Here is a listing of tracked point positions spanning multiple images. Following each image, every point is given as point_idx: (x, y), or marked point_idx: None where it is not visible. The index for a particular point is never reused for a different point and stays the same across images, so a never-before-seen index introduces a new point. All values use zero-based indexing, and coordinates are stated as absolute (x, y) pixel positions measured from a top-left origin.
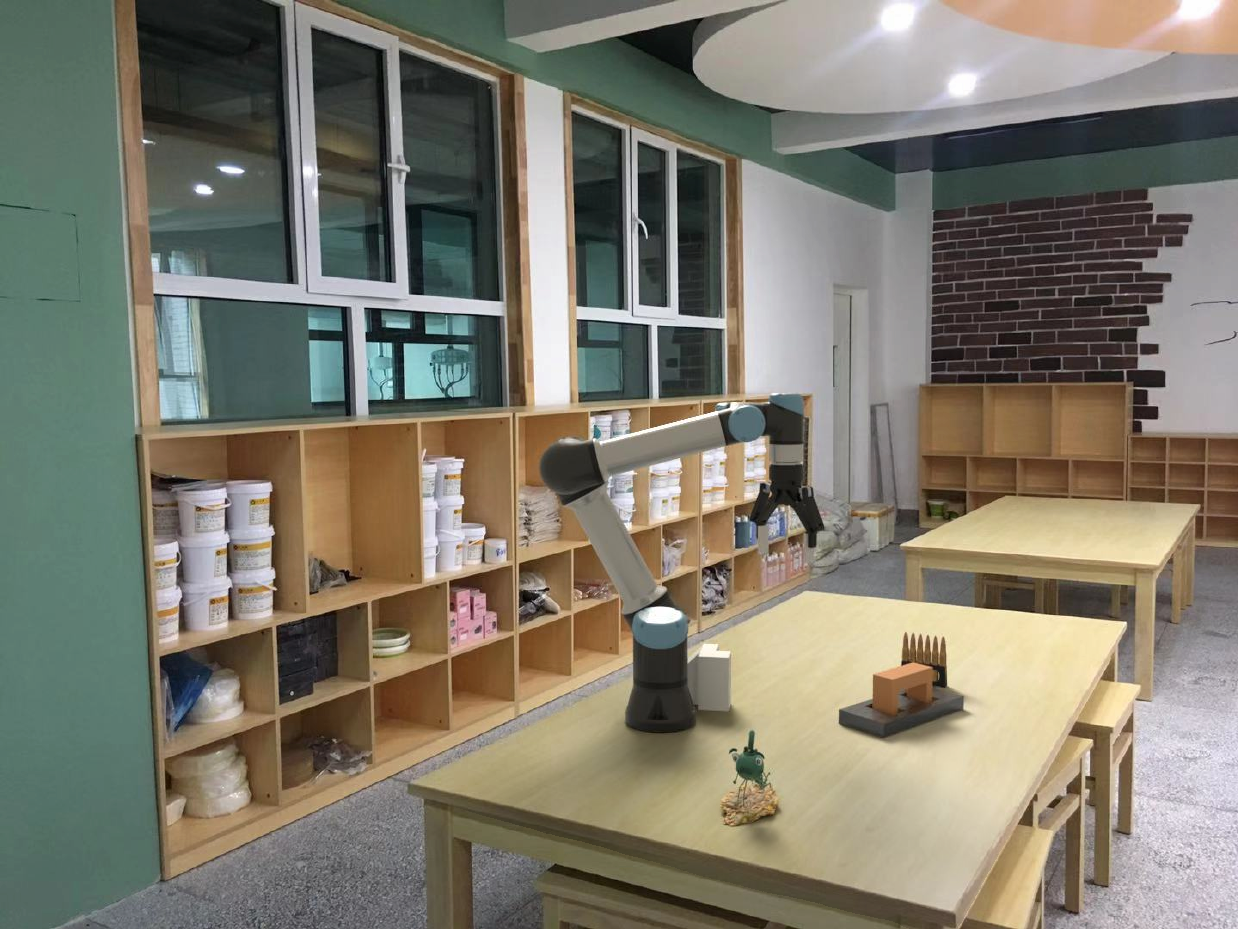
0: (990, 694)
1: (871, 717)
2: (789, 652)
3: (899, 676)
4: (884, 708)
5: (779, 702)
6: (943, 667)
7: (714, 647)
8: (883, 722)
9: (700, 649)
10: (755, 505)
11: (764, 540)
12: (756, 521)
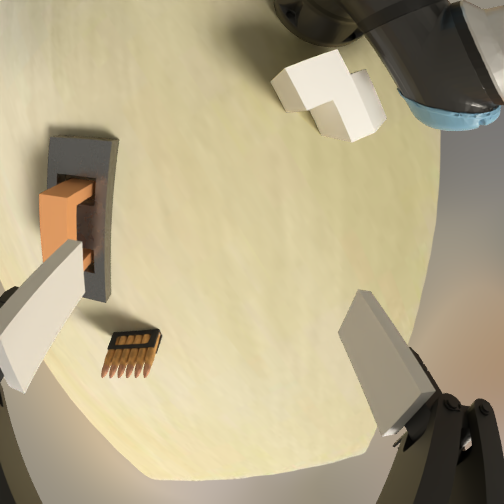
0: (77, 335)
1: (68, 145)
2: (324, 345)
3: (41, 215)
4: (71, 183)
5: (230, 161)
6: (108, 348)
7: (347, 118)
8: (52, 140)
9: (365, 102)
10: (500, 484)
11: (370, 354)
12: (455, 409)
